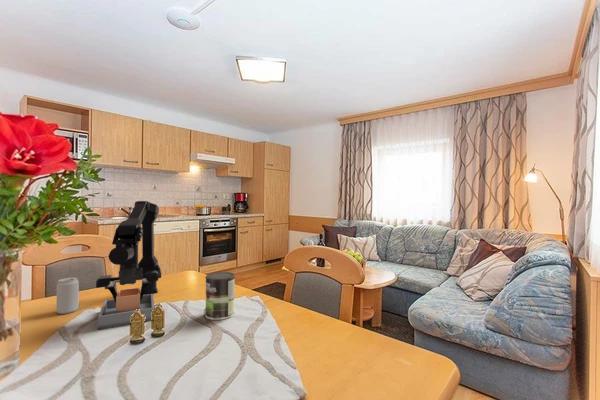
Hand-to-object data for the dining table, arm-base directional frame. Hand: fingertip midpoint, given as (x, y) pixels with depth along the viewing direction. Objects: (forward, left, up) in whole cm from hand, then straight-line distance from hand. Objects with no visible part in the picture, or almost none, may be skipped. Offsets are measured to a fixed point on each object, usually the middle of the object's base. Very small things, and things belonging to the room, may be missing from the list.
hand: (128, 302), depth 103 cm
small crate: (0, 0, -1) cm, 1 cm away
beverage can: (-15, -20, -5) cm, 25 cm away
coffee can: (+15, +29, -5) cm, 33 cm away
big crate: (0, 0, -4) cm, 4 cm away
